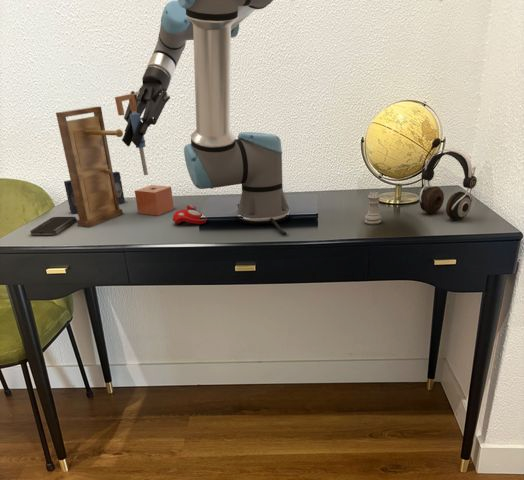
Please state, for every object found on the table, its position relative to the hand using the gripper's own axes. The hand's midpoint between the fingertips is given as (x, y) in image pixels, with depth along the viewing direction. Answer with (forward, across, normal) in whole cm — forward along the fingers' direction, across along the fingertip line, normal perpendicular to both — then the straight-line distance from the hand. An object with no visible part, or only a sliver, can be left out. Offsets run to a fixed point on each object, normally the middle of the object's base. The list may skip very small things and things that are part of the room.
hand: (130, 143), depth 153 cm
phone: (+28, +18, -2) cm, 33 cm away
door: (+20, +4, -10) cm, 23 cm away
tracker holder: (+14, -18, -16) cm, 28 cm away
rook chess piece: (+3, -67, -28) cm, 73 cm away
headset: (-6, -83, -36) cm, 91 cm away
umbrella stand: (+10, 0, -20) cm, 22 cm away
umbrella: (+5, 0, -8) cm, 10 cm away
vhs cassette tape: (+12, +22, -18) cm, 31 cm away
